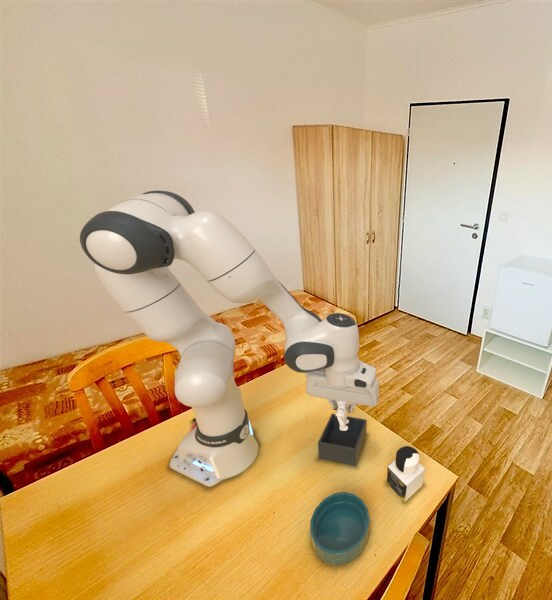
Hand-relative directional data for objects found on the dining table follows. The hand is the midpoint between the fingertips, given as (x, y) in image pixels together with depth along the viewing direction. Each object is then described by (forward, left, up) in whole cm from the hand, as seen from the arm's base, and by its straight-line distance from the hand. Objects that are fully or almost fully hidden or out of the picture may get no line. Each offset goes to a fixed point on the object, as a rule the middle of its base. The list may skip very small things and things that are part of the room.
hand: (343, 409), depth 89 cm
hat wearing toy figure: (0, 0, -6) cm, 6 cm away
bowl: (+7, -23, -15) cm, 28 cm away
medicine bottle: (+20, -8, -15) cm, 26 cm away
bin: (0, 0, -15) cm, 15 cm away
